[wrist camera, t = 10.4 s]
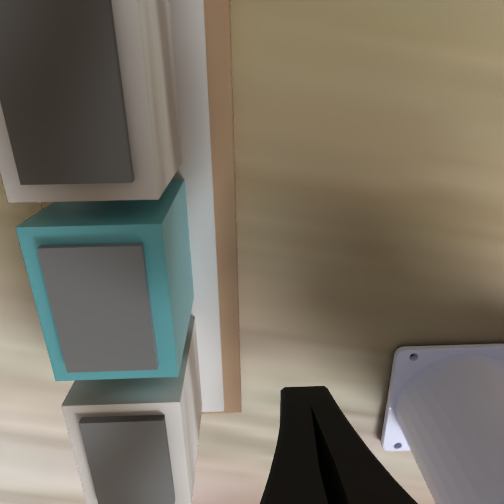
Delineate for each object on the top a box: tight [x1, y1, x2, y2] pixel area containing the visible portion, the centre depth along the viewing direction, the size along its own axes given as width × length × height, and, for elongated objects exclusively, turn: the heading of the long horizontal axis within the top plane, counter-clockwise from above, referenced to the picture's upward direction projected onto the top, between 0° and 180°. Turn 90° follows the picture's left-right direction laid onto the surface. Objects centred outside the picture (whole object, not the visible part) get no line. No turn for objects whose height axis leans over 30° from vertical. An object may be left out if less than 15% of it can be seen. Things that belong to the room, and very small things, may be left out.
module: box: [15, 180, 194, 381], centre depth 16 cm, size 4×6×6 cm
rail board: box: [0, 0, 241, 504], centre depth 17 cm, size 9×22×8 cm, turn 1°
